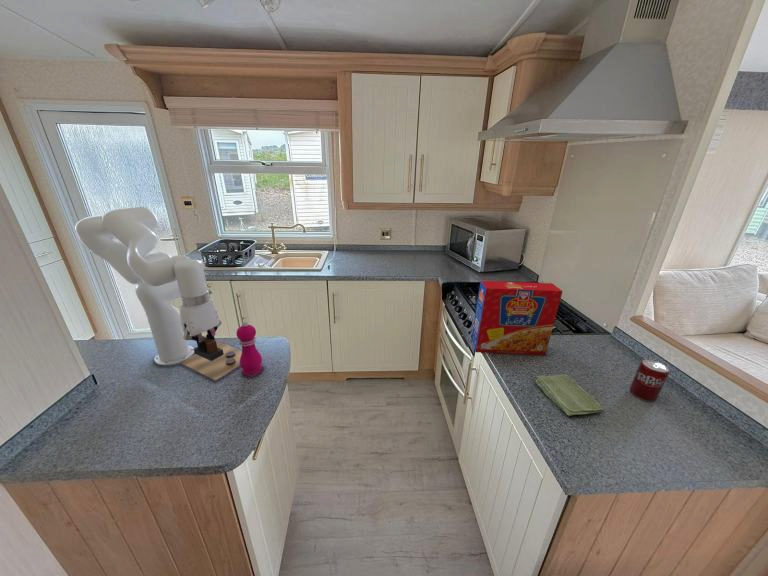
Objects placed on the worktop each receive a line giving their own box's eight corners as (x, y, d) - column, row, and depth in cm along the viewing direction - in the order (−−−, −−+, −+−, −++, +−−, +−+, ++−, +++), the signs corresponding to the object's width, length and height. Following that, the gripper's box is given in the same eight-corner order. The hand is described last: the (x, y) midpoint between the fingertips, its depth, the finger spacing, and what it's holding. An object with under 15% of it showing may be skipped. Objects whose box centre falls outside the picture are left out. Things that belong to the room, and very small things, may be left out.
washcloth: (568, 420, 91) (570, 411, 90) (531, 381, 107) (533, 373, 106) (605, 414, 94) (608, 406, 92) (564, 377, 110) (566, 370, 109)
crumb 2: (224, 363, 111) (223, 361, 110) (231, 359, 113) (231, 357, 113) (229, 366, 109) (229, 364, 109) (237, 361, 112) (237, 359, 112)
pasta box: (475, 352, 123) (486, 288, 113) (470, 341, 131) (480, 280, 120) (545, 355, 123) (562, 291, 112) (536, 344, 130) (552, 283, 120)
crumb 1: (224, 356, 115) (223, 354, 114) (231, 352, 117) (231, 350, 117) (229, 358, 113) (229, 356, 113) (237, 354, 116) (236, 352, 116)
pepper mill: (255, 379, 104) (247, 328, 97) (237, 376, 106) (227, 325, 98) (267, 366, 111) (260, 318, 103) (249, 364, 112) (241, 315, 105)
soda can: (631, 384, 107) (643, 356, 103) (657, 395, 102) (671, 365, 98) (627, 394, 102) (639, 365, 98) (654, 406, 98) (669, 375, 93)
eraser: (194, 353, 104) (191, 339, 102) (207, 347, 108) (203, 333, 106) (211, 361, 101) (208, 346, 99) (223, 354, 104) (220, 340, 102)
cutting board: (179, 364, 111) (179, 362, 111) (219, 343, 124) (219, 341, 124) (215, 382, 102) (215, 380, 102) (254, 357, 116) (254, 356, 115)
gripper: (211, 288, 105) (221, 334, 112) (162, 305, 92) (176, 357, 98) (226, 292, 102) (235, 340, 109) (177, 311, 88) (191, 363, 95)
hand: (207, 347), depth 103 cm, fingers closed on eraser, 2 cm apart
